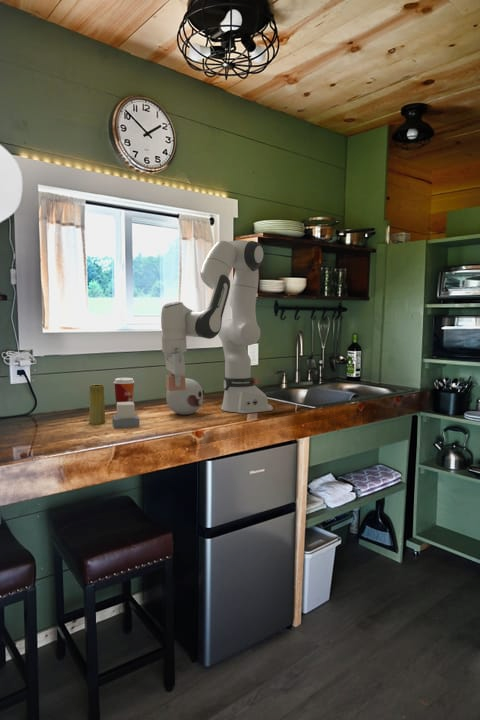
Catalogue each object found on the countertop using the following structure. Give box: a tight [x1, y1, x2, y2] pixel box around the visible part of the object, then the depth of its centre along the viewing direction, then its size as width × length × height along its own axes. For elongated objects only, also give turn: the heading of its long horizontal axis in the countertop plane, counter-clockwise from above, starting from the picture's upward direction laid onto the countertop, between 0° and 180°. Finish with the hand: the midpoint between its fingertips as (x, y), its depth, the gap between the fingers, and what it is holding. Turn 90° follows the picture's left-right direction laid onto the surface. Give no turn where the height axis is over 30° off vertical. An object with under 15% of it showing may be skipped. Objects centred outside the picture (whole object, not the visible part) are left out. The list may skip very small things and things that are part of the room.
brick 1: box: [116, 401, 136, 419], centre depth 185 cm, size 6×6×5 cm
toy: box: [165, 377, 205, 416], centre depth 204 cm, size 15×15×15 cm
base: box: [111, 412, 140, 429], centre depth 185 cm, size 9×9×3 cm
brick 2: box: [165, 374, 186, 391], centre depth 182 cm, size 6×6×5 cm
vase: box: [88, 383, 107, 425], centre depth 187 cm, size 6×6×14 cm
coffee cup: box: [113, 377, 135, 411], centre depth 200 cm, size 8×8×15 cm
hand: (175, 384), depth 182 cm, fingers closed on brick 2, 6 cm apart
